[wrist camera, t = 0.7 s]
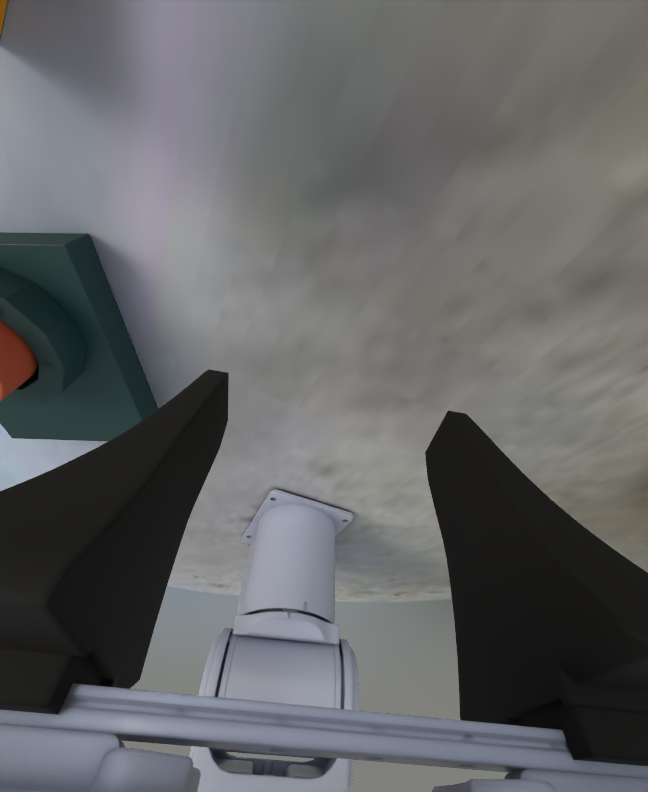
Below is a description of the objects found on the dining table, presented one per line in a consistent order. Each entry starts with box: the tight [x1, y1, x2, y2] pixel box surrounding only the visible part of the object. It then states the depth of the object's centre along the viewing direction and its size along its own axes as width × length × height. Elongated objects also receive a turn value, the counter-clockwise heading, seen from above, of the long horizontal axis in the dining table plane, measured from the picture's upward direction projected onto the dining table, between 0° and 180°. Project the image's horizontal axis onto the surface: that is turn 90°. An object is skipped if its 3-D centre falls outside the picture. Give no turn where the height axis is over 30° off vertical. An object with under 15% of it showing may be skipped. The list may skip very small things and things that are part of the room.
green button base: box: [0, 233, 158, 441], centre depth 20 cm, size 13×10×4 cm
